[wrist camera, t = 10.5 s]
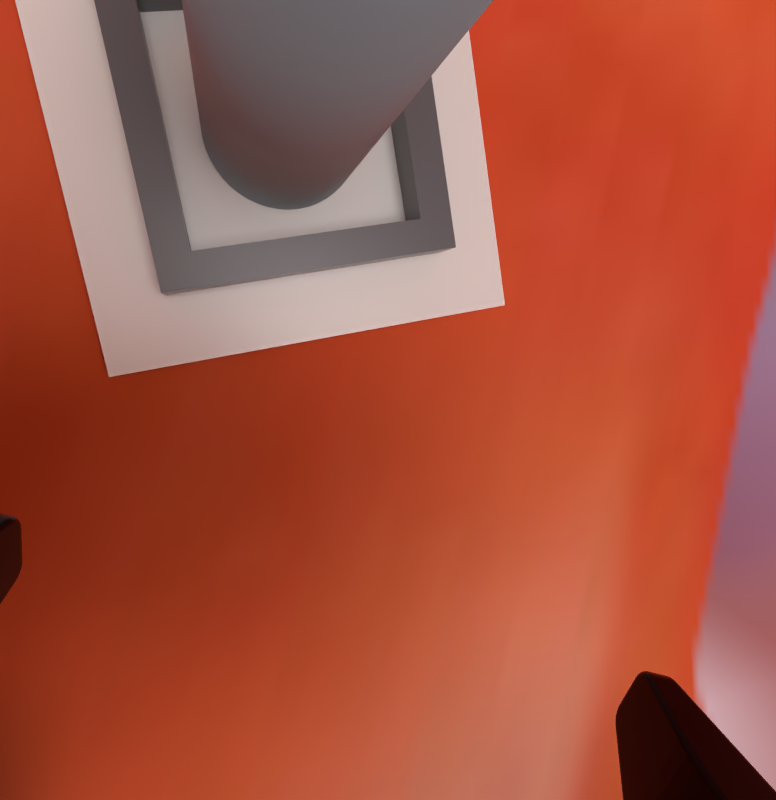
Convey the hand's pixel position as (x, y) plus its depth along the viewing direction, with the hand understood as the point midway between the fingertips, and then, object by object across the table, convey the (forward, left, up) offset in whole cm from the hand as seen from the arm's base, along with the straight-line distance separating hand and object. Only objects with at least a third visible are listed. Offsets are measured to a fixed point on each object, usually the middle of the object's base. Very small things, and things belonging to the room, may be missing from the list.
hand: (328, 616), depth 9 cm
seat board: (+2, +10, -12) cm, 16 cm away
